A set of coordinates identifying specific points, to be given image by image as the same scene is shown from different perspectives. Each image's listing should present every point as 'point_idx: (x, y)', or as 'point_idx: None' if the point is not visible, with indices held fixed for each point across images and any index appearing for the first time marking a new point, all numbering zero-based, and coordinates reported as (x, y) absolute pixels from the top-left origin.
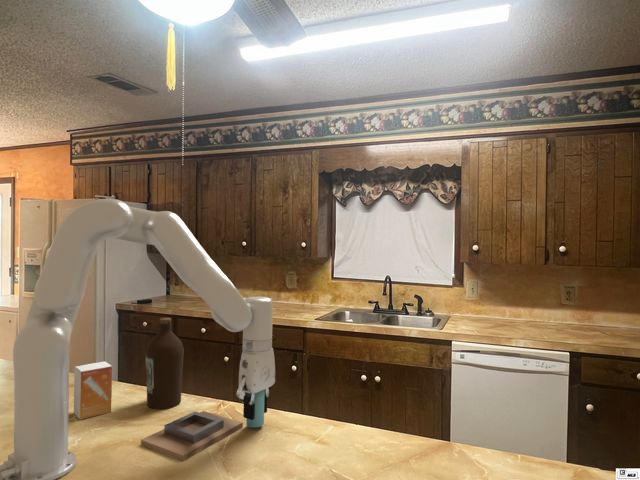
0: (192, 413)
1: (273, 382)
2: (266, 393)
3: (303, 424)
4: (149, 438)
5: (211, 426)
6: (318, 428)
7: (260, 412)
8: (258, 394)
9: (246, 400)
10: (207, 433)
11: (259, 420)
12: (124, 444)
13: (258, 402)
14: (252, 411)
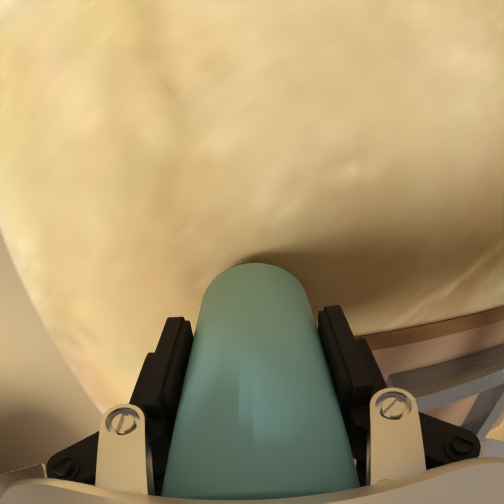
0: None
1: (27, 501)
2: (137, 437)
3: (46, 107)
4: (494, 423)
5: (468, 380)
6: (43, 17)
7: (273, 316)
8: (324, 462)
9: (449, 427)
10: (475, 361)
11: (277, 285)
12: (493, 431)
13: (308, 388)
14: (352, 347)
